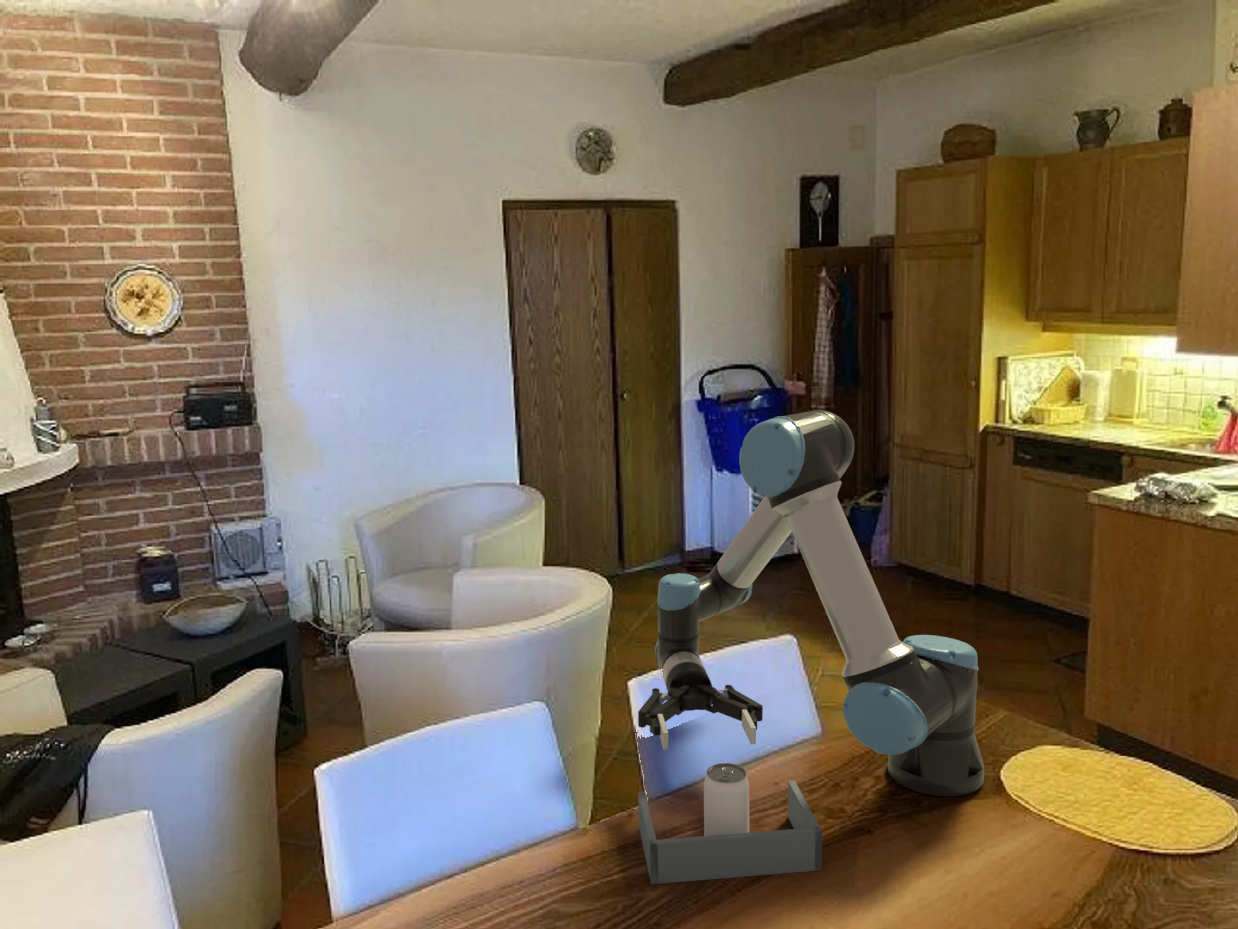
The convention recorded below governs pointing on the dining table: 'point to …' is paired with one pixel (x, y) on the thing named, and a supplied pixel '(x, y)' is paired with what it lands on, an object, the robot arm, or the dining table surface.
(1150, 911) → the dining table surface
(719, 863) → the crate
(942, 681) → the robot arm
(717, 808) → the can
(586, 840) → the dining table surface
